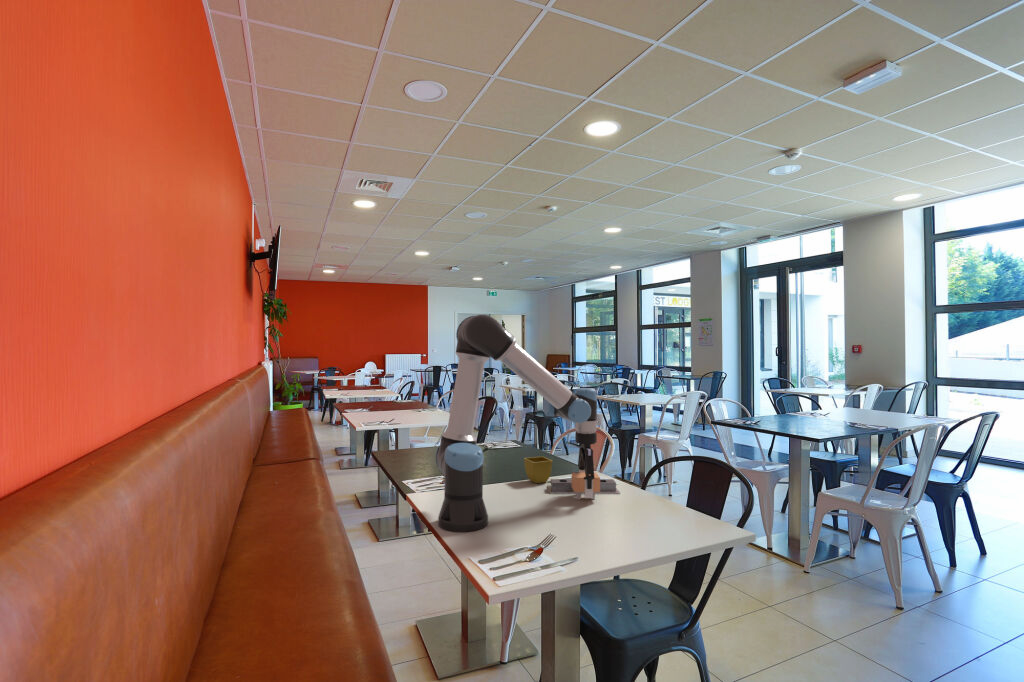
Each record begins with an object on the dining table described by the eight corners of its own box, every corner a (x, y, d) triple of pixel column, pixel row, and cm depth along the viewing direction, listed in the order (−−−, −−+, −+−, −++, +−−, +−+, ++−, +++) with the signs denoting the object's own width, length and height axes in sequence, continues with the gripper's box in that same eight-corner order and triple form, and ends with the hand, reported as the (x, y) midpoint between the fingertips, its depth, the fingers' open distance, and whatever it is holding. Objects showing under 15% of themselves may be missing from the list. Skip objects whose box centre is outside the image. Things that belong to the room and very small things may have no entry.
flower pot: (523, 480, 209) (523, 457, 209) (542, 477, 213) (542, 456, 213) (533, 485, 201) (533, 462, 201) (552, 483, 205) (553, 460, 205)
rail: (620, 493, 191) (620, 484, 191) (550, 493, 190) (550, 484, 190) (613, 486, 201) (614, 477, 201) (547, 486, 200) (547, 477, 200)
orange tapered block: (596, 495, 188) (596, 472, 189) (600, 501, 181) (600, 477, 182) (571, 495, 188) (571, 472, 188) (574, 501, 181) (574, 477, 181)
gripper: (603, 437, 173) (603, 503, 173) (590, 426, 197) (589, 483, 197) (581, 437, 173) (580, 503, 173) (570, 426, 197) (570, 483, 197)
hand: (585, 492), depth 185 cm, fingers open, 12 cm apart
